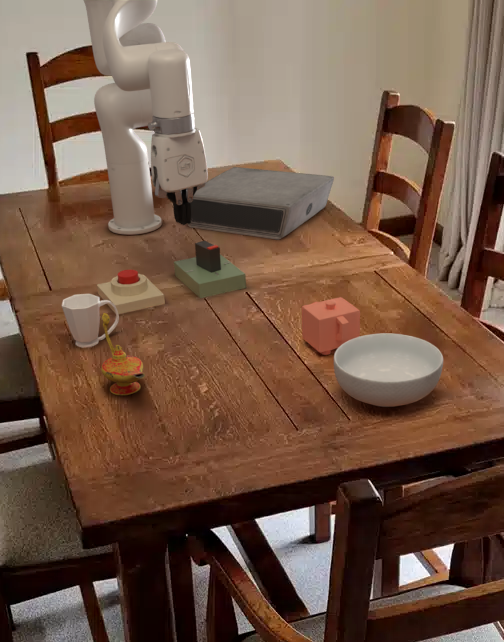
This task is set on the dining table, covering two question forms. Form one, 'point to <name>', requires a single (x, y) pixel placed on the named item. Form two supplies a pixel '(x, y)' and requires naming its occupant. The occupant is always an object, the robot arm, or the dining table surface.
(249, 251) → the dining table surface
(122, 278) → the power button
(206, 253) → the red-striped black box
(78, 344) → the cup
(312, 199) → the speaker
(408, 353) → the cereal bowl
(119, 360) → the magic lamp
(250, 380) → the dining table surface
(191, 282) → the panel
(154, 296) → the switch box
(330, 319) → the pink cube teapot
